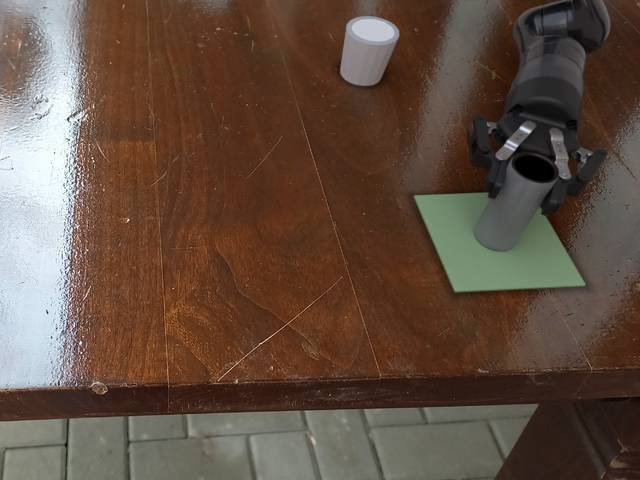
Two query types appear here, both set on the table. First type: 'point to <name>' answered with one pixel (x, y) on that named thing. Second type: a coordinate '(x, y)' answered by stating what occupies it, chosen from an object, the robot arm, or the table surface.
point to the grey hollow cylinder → (516, 201)
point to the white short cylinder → (367, 49)
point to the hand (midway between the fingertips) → (521, 200)
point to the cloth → (489, 265)
